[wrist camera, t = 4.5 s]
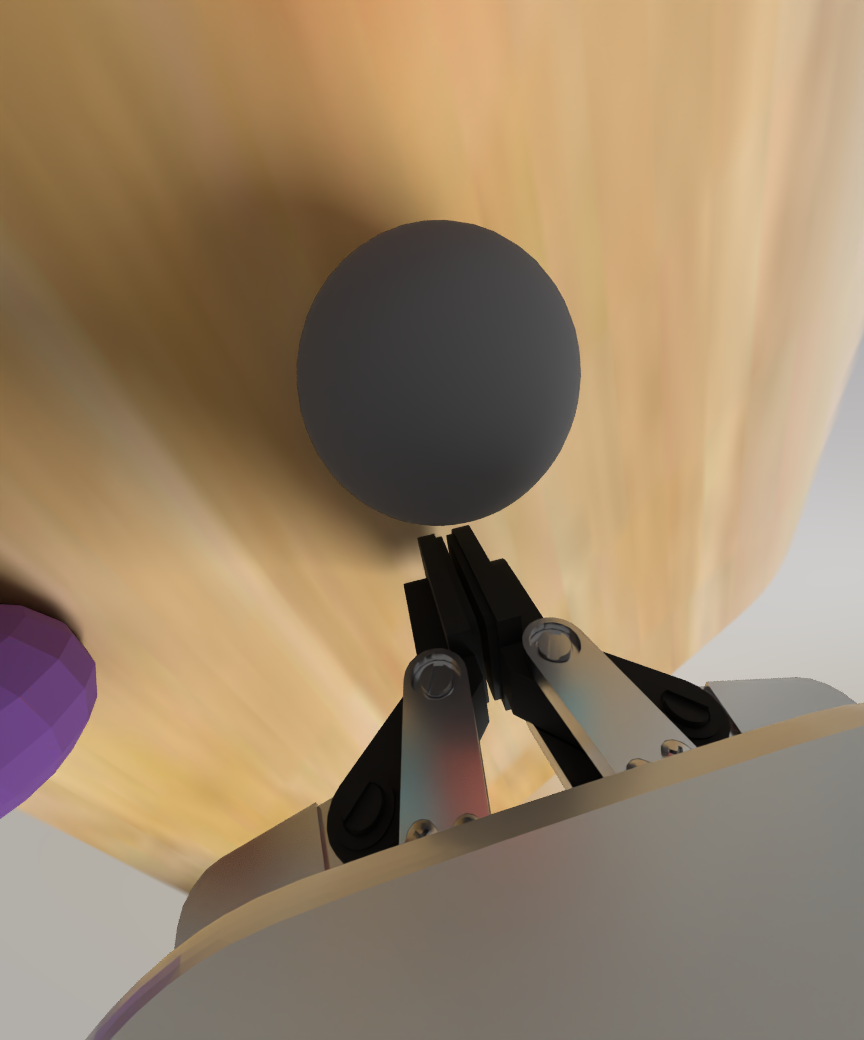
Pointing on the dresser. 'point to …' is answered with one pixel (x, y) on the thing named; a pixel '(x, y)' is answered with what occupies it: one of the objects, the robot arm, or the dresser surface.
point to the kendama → (39, 699)
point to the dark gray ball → (438, 372)
